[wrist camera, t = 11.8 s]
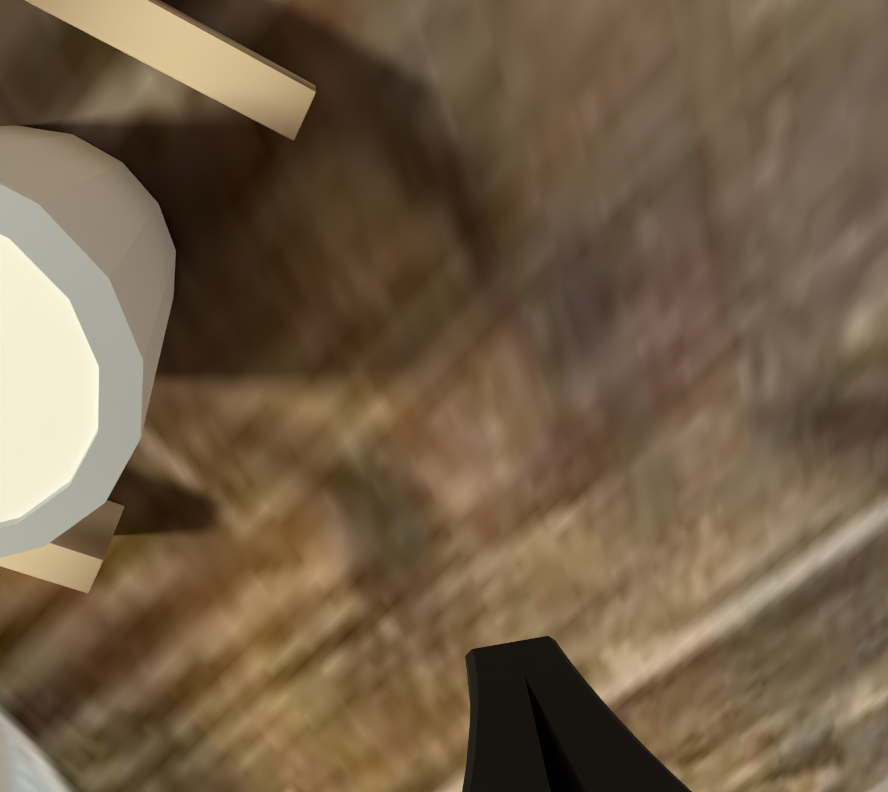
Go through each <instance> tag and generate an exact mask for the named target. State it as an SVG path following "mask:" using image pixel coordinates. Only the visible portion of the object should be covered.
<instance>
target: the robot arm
mask: <svg viewBox="0 0 888 792" xmlns="http://www.w3.org/2000/svg"><path fill="white" fill-rule="evenodd" d="M465 658H466V667H467V677H468V686H469V696H470V729H469V741H468V753H467V763H466V771H465V777H464V784H463V790H462V792H692V791H690V790H689V789H688V788H687V787H686V786H685V785H684V784H683V783H682V782H681V781H680V780H678V779H677V778H676V777H675V776H674V775H673V774H672V773H671V772H670V771H669V770H668V769H667V768H666V767H665V766H664V765H663V764H662V763H661V762H660V761H659V760H658V759H657V758H656V757H655V756H654V755H653V754H652V753H651V752H650V751H649V750H648V749H647V748H646V747H645V746H644V745H643V744H642V743H641V742H640V741H639V740H638V739H637V738H636V737H635V736H634V735H633V734H632V733H631V732H630V730H629V729H628V728H627V727H626V726H625V725H624V724H623V723H622V722H621V721H620V720H619V719H618V718H617V716H616V715H615V714H614V713H613V712H612V711H611V710H610V709H609V708H608V707H607V705H606V704H605V703H604V702H603V701H602V700H601V699H600V697H599V696H598V695H597V694H596V693H595V691H594V690H593V689H592V688H591V687H590V685H589V684H588V683H587V682H586V681H585V679H584V678H583V677H582V676H581V674H580V673H579V672H578V671H577V669H576V668H575V667H574V665H573V664H572V663H571V662H570V660H569V659H568V658H567V656H566V655H565V654H564V652H563V651H562V649H561V648H560V647H559V645H558V644H557V642H556V641H555V640H554V639H552V638H551V637H549V636H545V637H539V638H533V639H528V640H522V641H516V642H510V643H505V644H499V645H493V646H487V647H482V648H476V649H472V650H471V651H470V652H469V653H468V654H467V655H466V656H465Z"/></svg>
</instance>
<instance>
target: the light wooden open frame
mask: <svg viewBox="0 0 888 792" xmlns="http://www.w3.org/2000/svg"><path fill="white" fill-rule="evenodd" d="M25 1H27V2H29V3H31V4H33V5H35V6H37V7H38V8H40V9H42V10H44V11H46V12H48V13H50V14H52V15H54V16H56V17H58V18H60V19H61V20H63V21H65V22H67V23H69V24H71V25H73V26H75V27H77V28H79V29H81V30H83V31H84V32H86V33H88V34H90V35H92V36H94V37H96V38H98V39H100V40H102V41H104V42H106V43H107V44H109V45H111V46H113V47H115V48H117V49H119V50H121V51H123V52H125V53H127V54H129V55H130V56H132V57H134V58H136V59H138V60H140V61H142V62H144V63H146V64H148V65H150V66H152V67H153V68H155V69H157V70H159V71H161V72H163V73H165V74H167V75H169V76H171V77H173V78H175V79H176V80H178V81H180V82H182V83H184V84H186V85H188V86H190V87H192V88H194V89H196V90H198V91H199V92H201V93H203V94H205V95H207V96H209V97H211V98H213V99H215V100H217V101H219V102H221V103H222V104H224V105H226V106H228V107H230V108H232V109H234V110H236V111H238V112H240V113H242V114H244V115H245V116H247V117H249V118H251V119H253V120H255V121H257V122H259V123H261V124H263V125H265V126H267V127H268V128H270V129H272V130H274V131H276V132H278V133H280V134H282V135H284V136H286V137H288V138H290V139H291V140H293V141H294V139H295V137H296V135H297V133H298V131H299V128H300V126H301V124H302V122H303V120H304V117H305V115H306V113H307V111H308V109H309V106H310V104H311V102H312V100H313V98H314V95H315V93H316V85H314V84H312V83H310V82H308V81H306V80H305V79H303V78H301V77H299V76H297V75H296V74H294V73H292V72H290V71H288V70H286V69H285V68H283V67H281V66H279V65H277V64H275V63H274V62H272V61H270V60H268V59H266V58H265V57H263V56H261V55H259V54H257V53H255V52H254V51H252V50H250V49H248V48H246V47H245V46H243V45H241V44H239V43H237V42H235V41H234V40H232V39H230V38H228V37H226V36H224V35H223V34H221V33H219V32H217V31H215V30H214V29H212V28H210V27H208V26H206V25H204V24H203V23H201V22H199V21H197V20H195V19H194V18H192V17H190V16H188V15H186V14H184V13H183V12H181V11H179V10H177V9H175V8H174V7H172V6H170V5H168V4H166V3H164V2H163V1H161V0H25ZM124 507H125V506H123V505H120V504H117V503H114V502H111V501H108V500H106V502H105V503H104V504H103V505H101V506H100V507H98V508H97V509H96V510H94V511H93V512H92V513H90V514H89V515H87V516H86V517H85V518H83V519H82V520H80V521H79V522H78V523H76V524H75V525H73V526H72V527H71V528H69V529H68V530H67V531H65V532H64V533H62V534H61V535H60V536H58V537H57V538H55V539H54V540H53V541H51V542H50V543H49V544H47V545H46V546H44V547H41V548H37V549H33V550H29V551H25V552H21V553H17V554H13V555H10V556H6V557H2V558H0V566H2V567H5V568H8V569H11V570H15V571H18V572H21V573H24V574H27V575H31V576H34V577H37V578H40V579H44V580H47V581H50V582H53V583H56V584H60V585H63V586H66V587H69V588H73V589H76V590H79V591H82V592H86V593H88V592H89V590H90V588H91V586H92V584H93V581H94V579H95V577H96V575H97V573H98V570H99V568H100V566H101V564H102V562H103V559H104V557H105V554H106V552H107V549H108V547H109V544H110V542H111V539H112V537H113V534H114V532H115V529H116V527H117V524H118V522H119V519H120V517H121V515H122V512H123V510H124Z"/></svg>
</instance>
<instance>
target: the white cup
mask: <svg viewBox="0 0 888 792" xmlns="http://www.w3.org/2000/svg"><path fill="white" fill-rule="evenodd" d="M175 259H176V250H175V247H174V244H173V242H172V239H171V236H170V233H169V231H168V228H167V225H166V223H165V220H164V217H163V214H162V212H161V209H160V206H159V204H158V202H157V201H156V200H155V199H154V198H153V197H152V196H151V194H150V193H149V192H148V191H147V190H146V189H145V188H144V186H143V185H142V184H141V183H140V182H139V181H138V179H137V178H136V177H135V176H134V175H133V174H132V173H131V171H130V170H129V169H128V168H127V167H126V166H125V165H124V163H123V162H121V161H119V160H118V159H116V158H114V157H112V156H110V155H109V154H107V153H105V152H103V151H101V150H100V149H98V148H96V147H94V146H93V145H91V144H89V143H87V142H85V141H84V140H82V139H80V138H78V137H76V136H75V135H73V134H67V133H61V132H55V131H48V130H42V129H36V128H29V127H23V126H0V558H2V557H6V556H10V555H13V554H17V553H21V552H25V551H29V550H33V549H37V548H41V547H44V546H46V545H47V544H49V543H50V542H51V541H53V540H54V539H55V538H57V537H58V536H60V535H61V534H62V533H64V532H65V531H67V530H68V529H69V528H71V527H72V526H73V525H75V524H76V523H78V522H79V521H80V520H82V519H83V518H85V517H86V516H87V515H89V514H90V513H92V512H93V511H94V510H96V509H97V508H98V507H100V506H101V505H103V504H104V503H105V502H106V500H107V499H108V497H109V495H110V493H111V491H112V490H113V488H114V486H115V484H116V482H117V480H118V479H119V477H120V475H121V473H122V471H123V470H124V468H125V466H126V464H127V462H128V460H129V459H130V457H131V455H132V453H133V451H134V450H135V448H136V446H137V444H138V442H139V441H140V439H141V434H142V430H143V426H144V422H145V417H146V413H147V409H148V404H149V400H150V396H151V392H152V387H153V383H154V379H155V374H156V370H157V366H158V361H159V357H160V353H161V349H162V344H163V340H164V336H165V331H166V327H167V323H168V319H169V314H170V310H171V306H172V301H173V297H174V279H175Z"/></svg>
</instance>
